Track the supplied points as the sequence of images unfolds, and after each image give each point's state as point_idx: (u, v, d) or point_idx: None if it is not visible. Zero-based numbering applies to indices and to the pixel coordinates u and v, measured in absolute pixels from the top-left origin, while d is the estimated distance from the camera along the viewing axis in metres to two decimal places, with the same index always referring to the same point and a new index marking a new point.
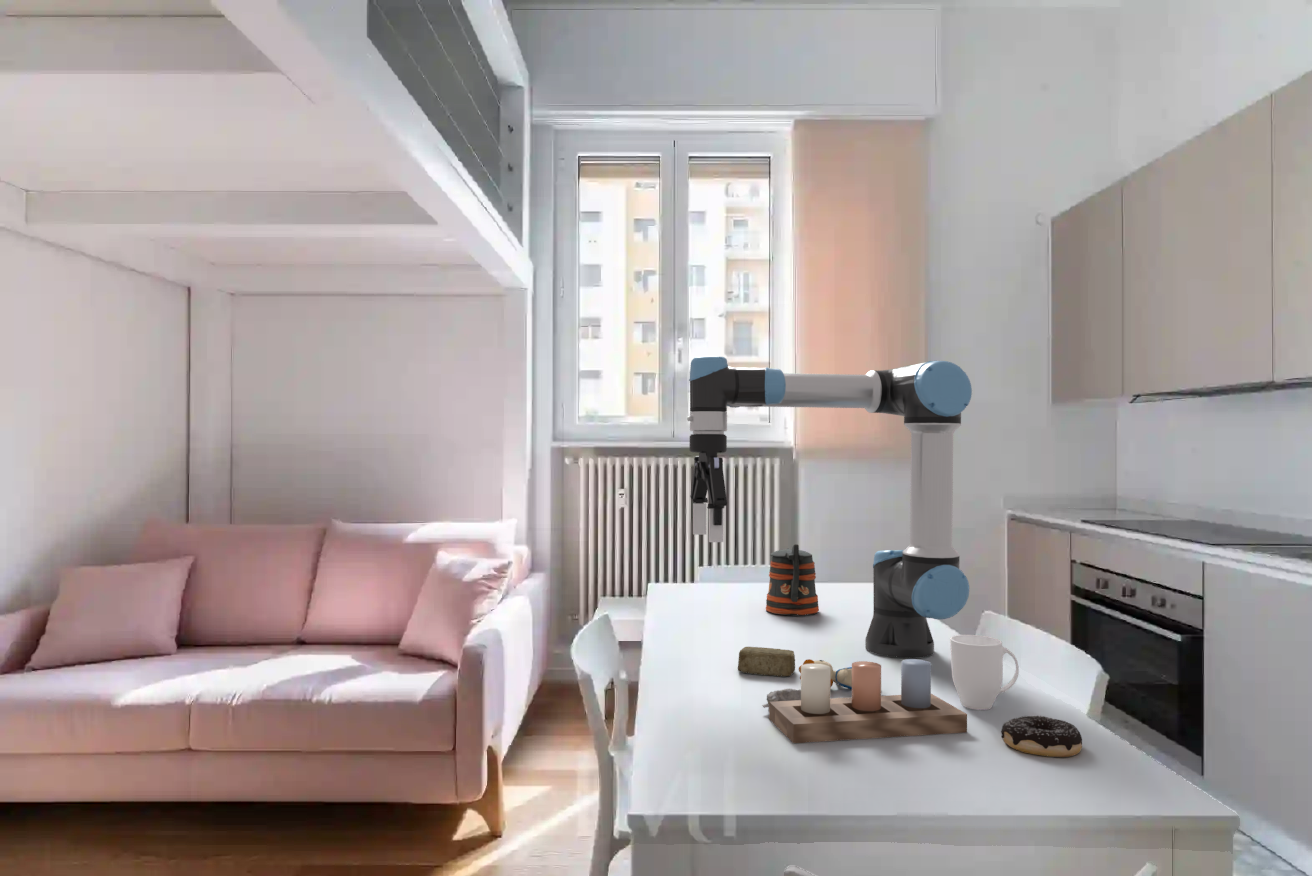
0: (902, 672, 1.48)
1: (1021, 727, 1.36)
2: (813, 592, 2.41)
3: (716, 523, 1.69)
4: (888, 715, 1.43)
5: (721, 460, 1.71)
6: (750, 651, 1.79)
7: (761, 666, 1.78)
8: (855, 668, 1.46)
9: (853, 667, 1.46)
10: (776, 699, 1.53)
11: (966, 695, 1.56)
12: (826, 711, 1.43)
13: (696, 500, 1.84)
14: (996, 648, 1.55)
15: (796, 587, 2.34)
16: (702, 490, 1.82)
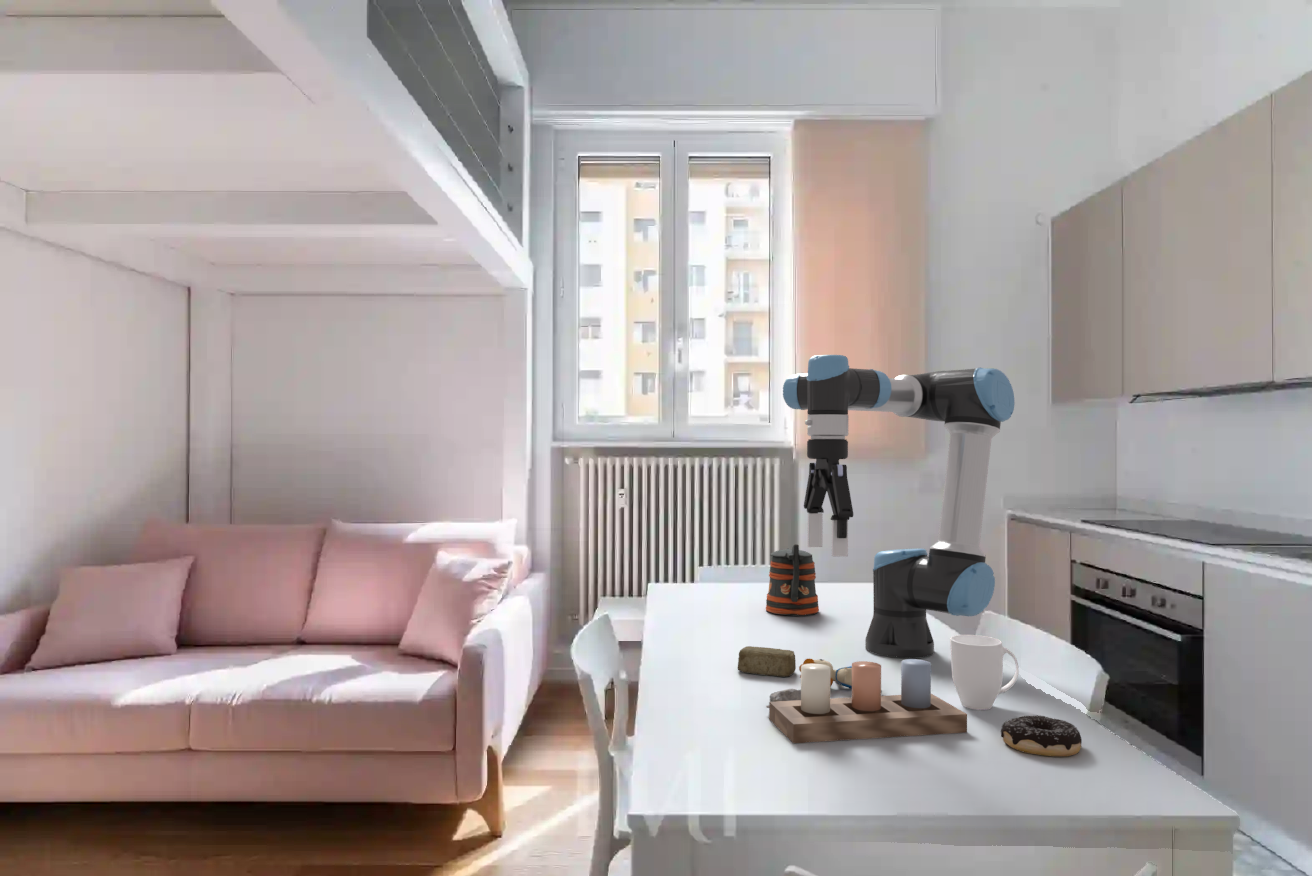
0: (902, 672, 1.48)
1: (1021, 727, 1.36)
2: (813, 592, 2.41)
3: (841, 536, 1.56)
4: (888, 715, 1.43)
5: (845, 467, 1.57)
6: (749, 651, 1.79)
7: (760, 665, 1.78)
8: (855, 668, 1.46)
9: (853, 667, 1.46)
10: (780, 699, 1.52)
11: (966, 695, 1.56)
12: (826, 711, 1.43)
13: (811, 510, 1.71)
14: (996, 648, 1.55)
15: (796, 587, 2.34)
16: (818, 499, 1.69)
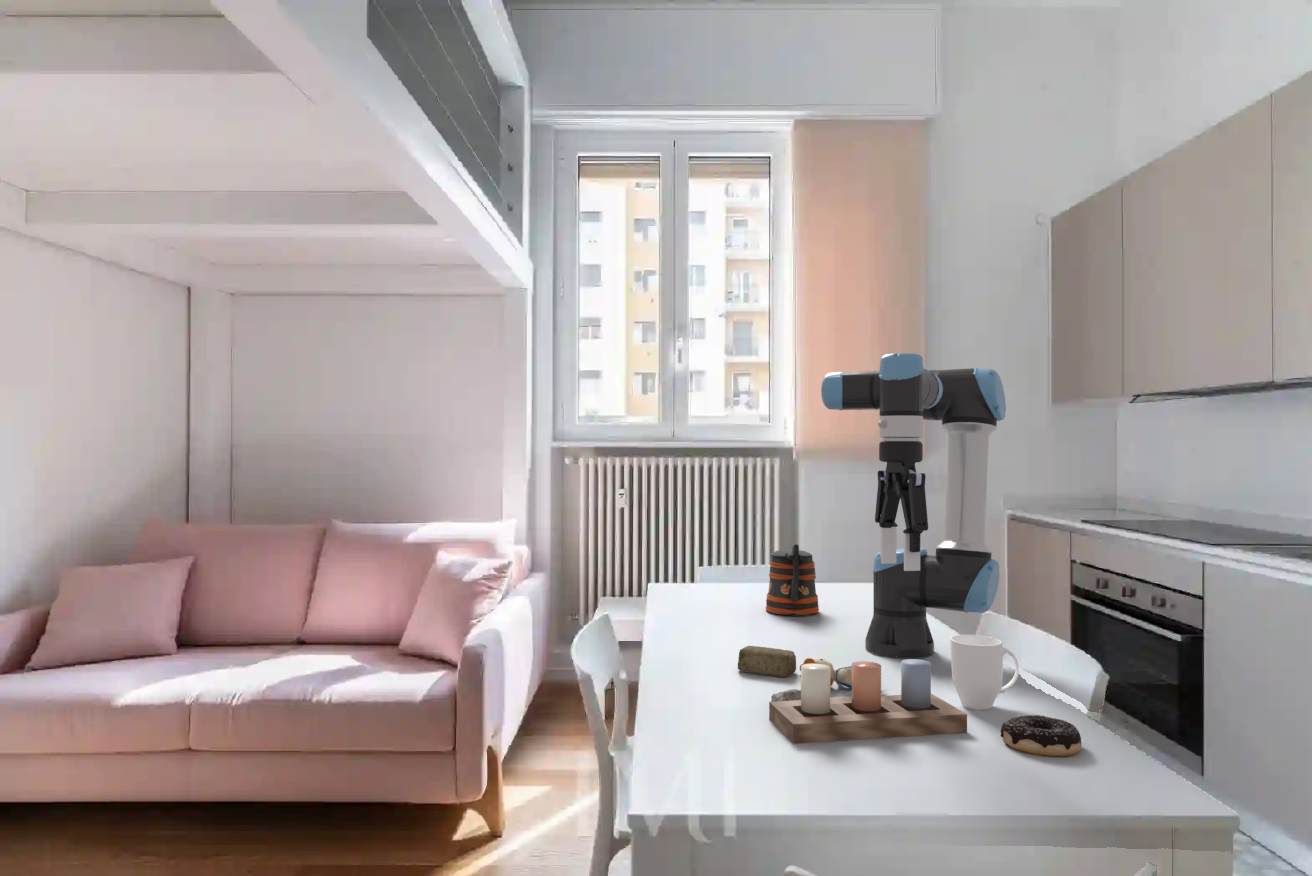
0: (902, 672, 1.48)
1: (1020, 726, 1.36)
2: (813, 592, 2.41)
3: (914, 550, 1.51)
4: (888, 715, 1.43)
5: (924, 477, 1.50)
6: (749, 650, 1.80)
7: (759, 665, 1.78)
8: (855, 668, 1.46)
9: (853, 667, 1.46)
10: (784, 700, 1.52)
11: (966, 695, 1.56)
12: (826, 711, 1.43)
13: (884, 524, 1.61)
14: (996, 648, 1.55)
15: (796, 587, 2.34)
16: (892, 509, 1.60)
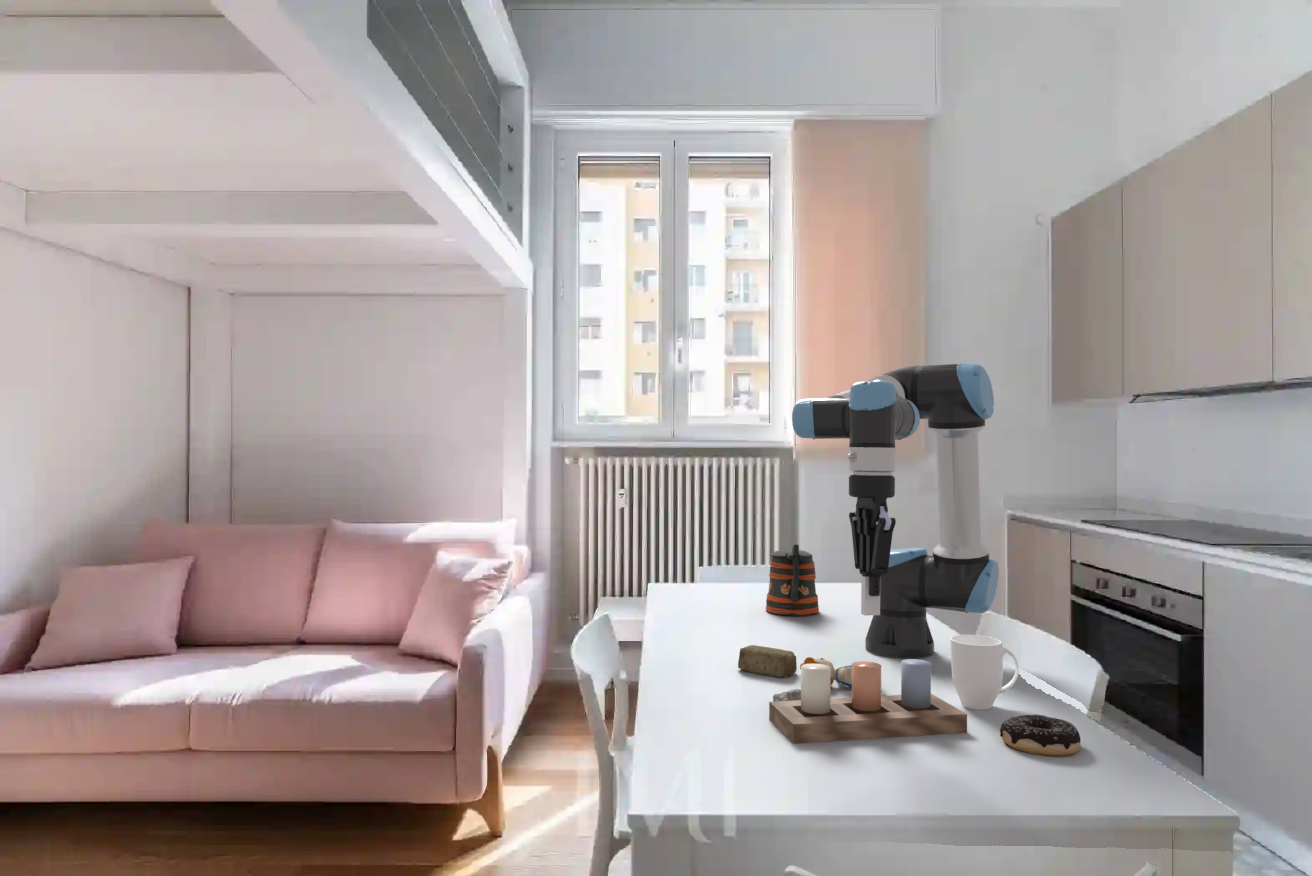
0: (902, 672, 1.48)
1: (1020, 726, 1.36)
2: (813, 592, 2.41)
3: (873, 594, 1.45)
4: (888, 715, 1.43)
5: (894, 523, 1.41)
6: (749, 649, 1.80)
7: (758, 664, 1.79)
8: (855, 668, 1.46)
9: (853, 667, 1.46)
10: (788, 700, 1.52)
11: (966, 695, 1.56)
12: (826, 711, 1.43)
13: (865, 571, 1.47)
14: (996, 648, 1.55)
15: (796, 587, 2.34)
16: None
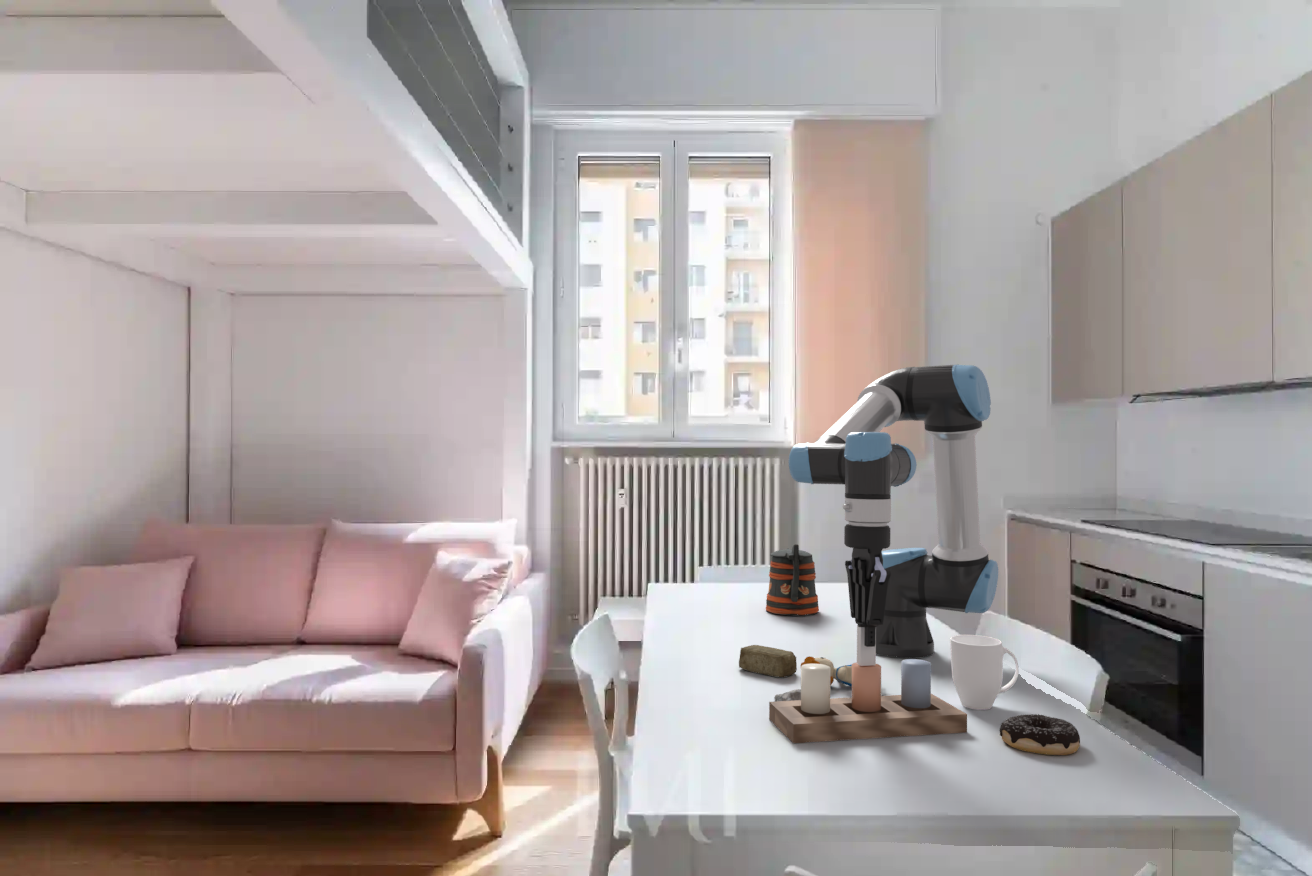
0: (902, 672, 1.48)
1: (1019, 725, 1.37)
2: (813, 592, 2.41)
3: (869, 644, 1.45)
4: (888, 715, 1.43)
5: (889, 576, 1.41)
6: (749, 649, 1.81)
7: (757, 664, 1.79)
8: (855, 669, 1.46)
9: (853, 668, 1.46)
10: None
11: (966, 695, 1.56)
12: (826, 711, 1.43)
13: (861, 621, 1.47)
14: (996, 648, 1.55)
15: (796, 587, 2.34)
16: None
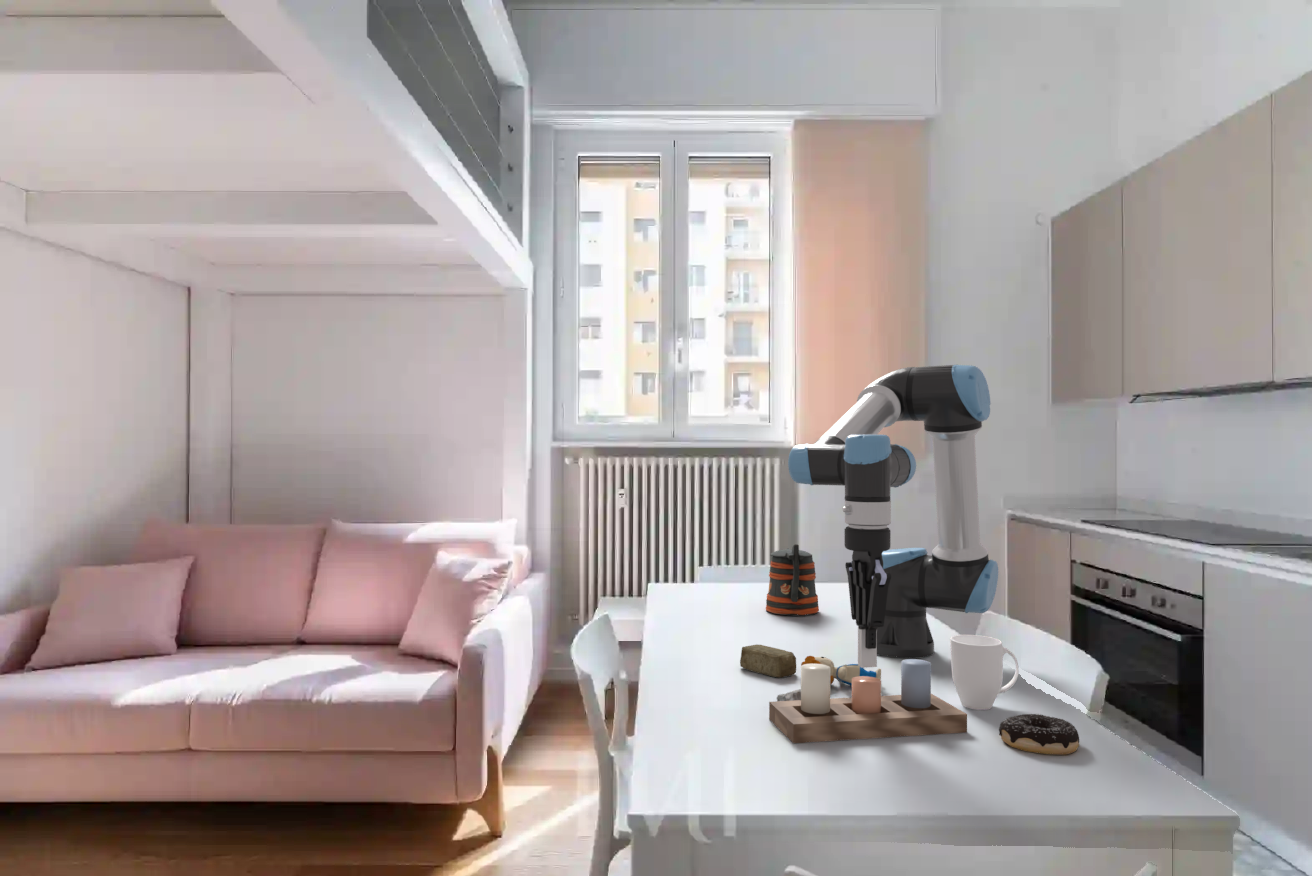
0: (902, 672, 1.48)
1: (1018, 725, 1.37)
2: (813, 592, 2.41)
3: (870, 646, 1.45)
4: (888, 715, 1.43)
5: (889, 578, 1.41)
6: (749, 648, 1.82)
7: (756, 663, 1.79)
8: (855, 683, 1.46)
9: (853, 682, 1.46)
10: None
11: (966, 695, 1.56)
12: (826, 711, 1.43)
13: (862, 623, 1.48)
14: (996, 648, 1.55)
15: (796, 587, 2.34)
16: None
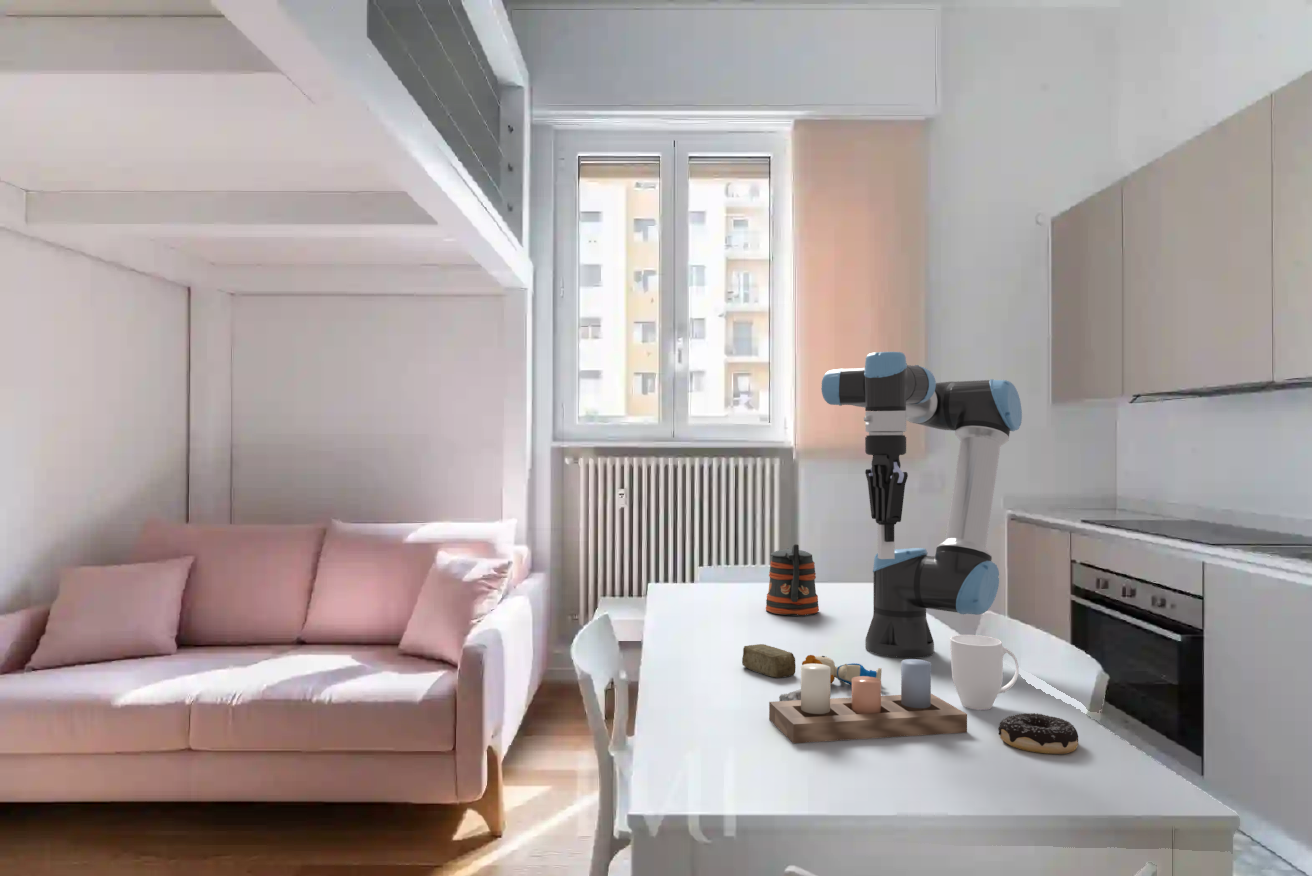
0: (902, 672, 1.48)
1: (1018, 724, 1.37)
2: (813, 592, 2.41)
3: (888, 539, 1.64)
4: (888, 715, 1.43)
5: (906, 477, 1.60)
6: (750, 647, 1.82)
7: (756, 663, 1.80)
8: (855, 683, 1.46)
9: (853, 682, 1.46)
10: None
11: (966, 695, 1.56)
12: (826, 711, 1.43)
13: (881, 520, 1.66)
14: (996, 648, 1.55)
15: (796, 587, 2.34)
16: None
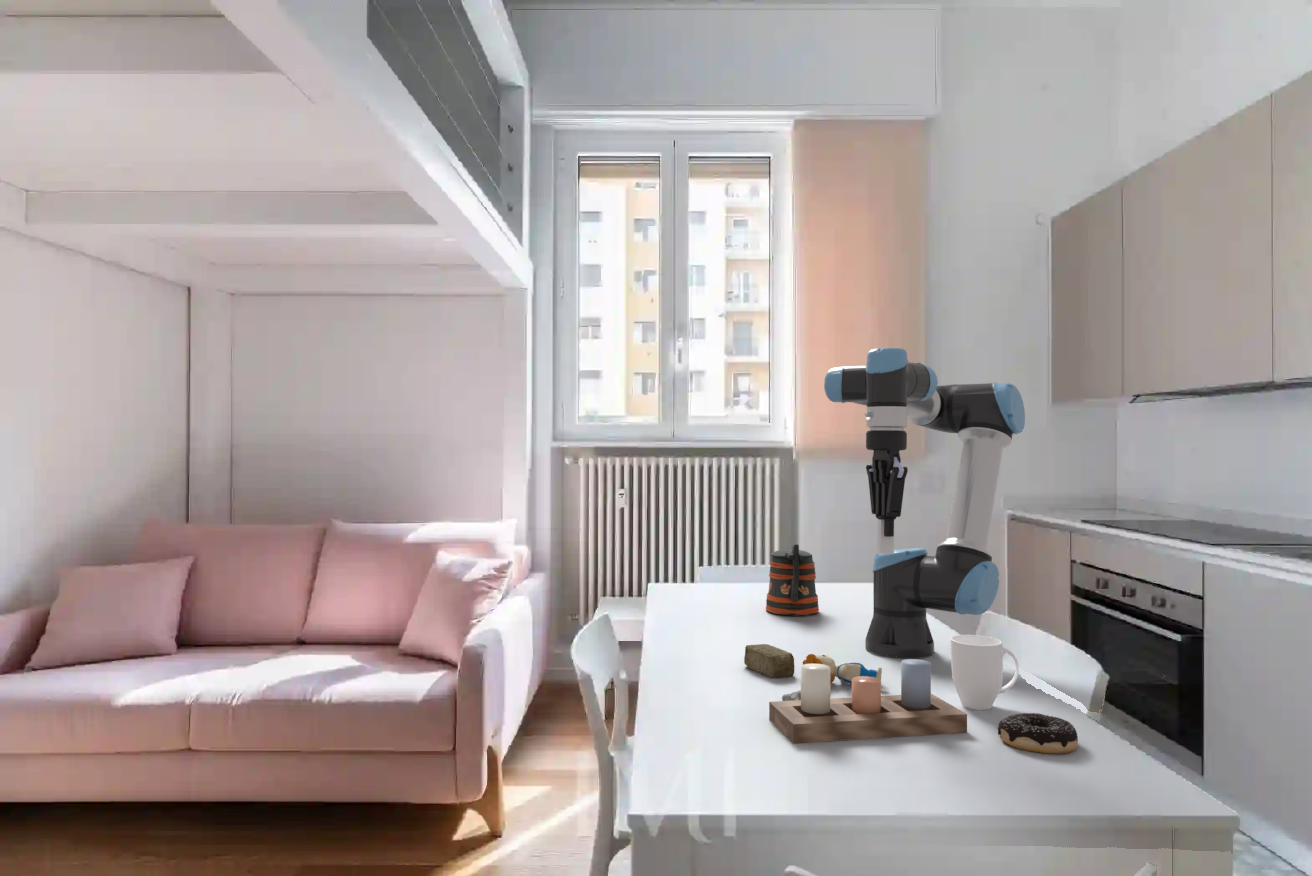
0: (902, 672, 1.48)
1: (1017, 724, 1.37)
2: (813, 592, 2.41)
3: (888, 534, 1.65)
4: (888, 715, 1.43)
5: (906, 472, 1.61)
6: (752, 647, 1.83)
7: (756, 662, 1.80)
8: (855, 683, 1.46)
9: (853, 682, 1.46)
10: None
11: (966, 695, 1.56)
12: (826, 711, 1.43)
13: (881, 515, 1.67)
14: (996, 648, 1.55)
15: (796, 587, 2.34)
16: None
